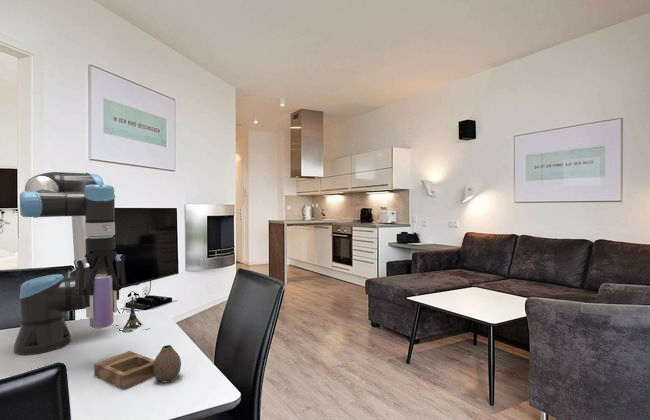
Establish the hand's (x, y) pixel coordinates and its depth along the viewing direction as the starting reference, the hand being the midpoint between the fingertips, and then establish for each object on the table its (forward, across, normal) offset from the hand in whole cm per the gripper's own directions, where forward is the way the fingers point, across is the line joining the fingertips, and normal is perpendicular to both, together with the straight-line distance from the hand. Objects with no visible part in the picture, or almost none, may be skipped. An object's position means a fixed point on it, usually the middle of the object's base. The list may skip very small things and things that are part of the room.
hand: (101, 314), depth 108 cm
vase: (+15, +4, -25) cm, 30 cm away
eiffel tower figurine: (+16, +23, +26) cm, 38 cm away
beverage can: (+4, 0, 0) cm, 4 cm away
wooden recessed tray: (+15, 0, -14) cm, 20 cm away
